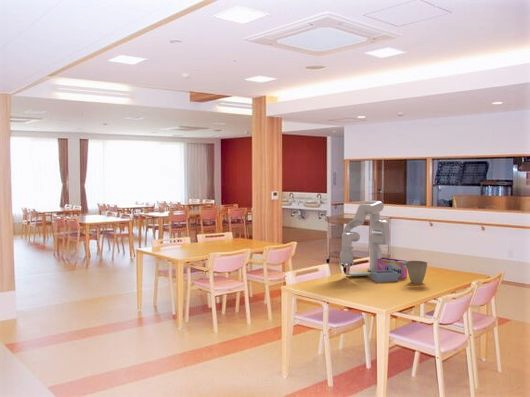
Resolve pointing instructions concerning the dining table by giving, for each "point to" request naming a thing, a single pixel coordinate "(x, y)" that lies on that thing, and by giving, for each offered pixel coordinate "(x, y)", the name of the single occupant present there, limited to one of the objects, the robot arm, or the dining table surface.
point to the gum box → (393, 266)
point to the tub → (384, 276)
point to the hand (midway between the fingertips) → (346, 272)
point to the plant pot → (416, 271)
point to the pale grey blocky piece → (355, 272)
